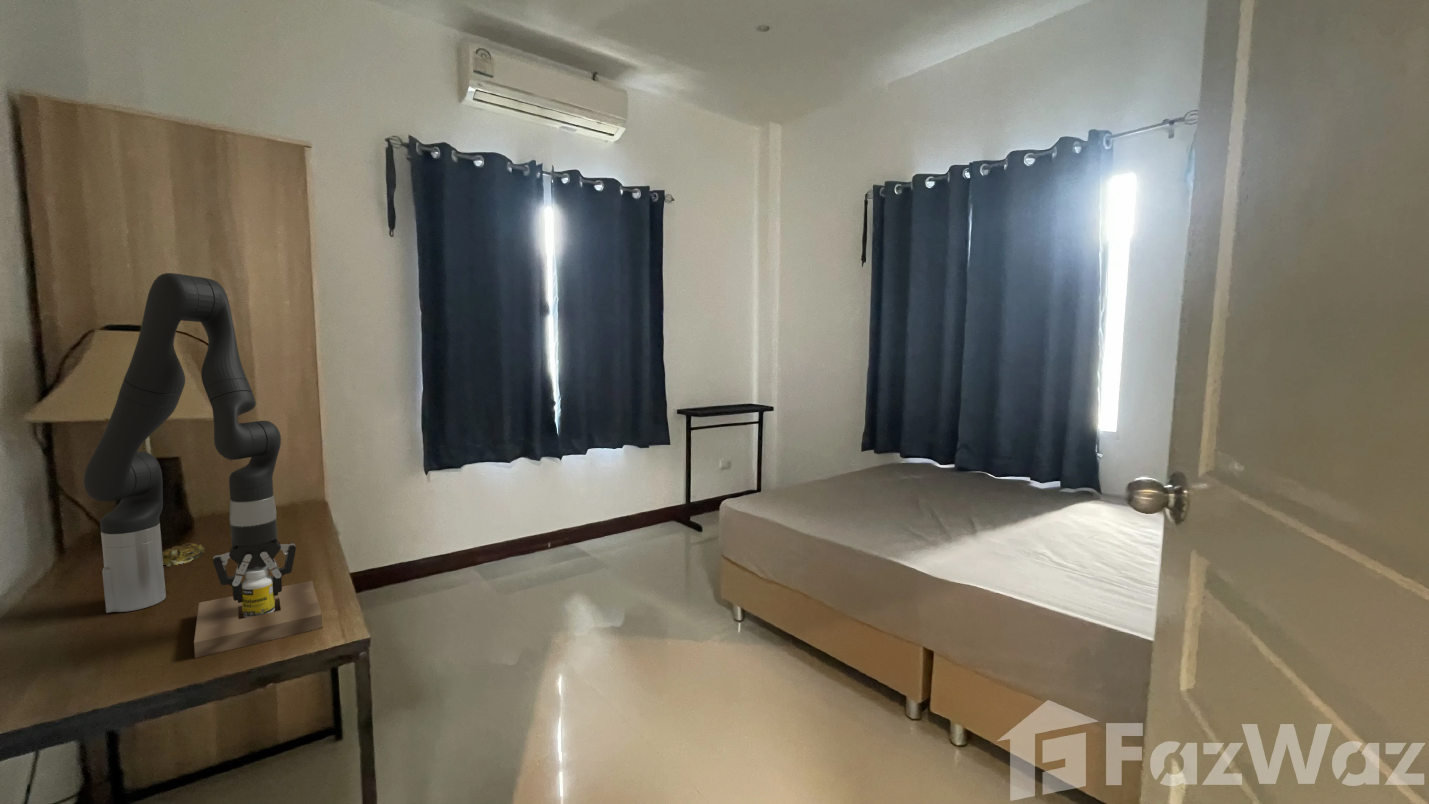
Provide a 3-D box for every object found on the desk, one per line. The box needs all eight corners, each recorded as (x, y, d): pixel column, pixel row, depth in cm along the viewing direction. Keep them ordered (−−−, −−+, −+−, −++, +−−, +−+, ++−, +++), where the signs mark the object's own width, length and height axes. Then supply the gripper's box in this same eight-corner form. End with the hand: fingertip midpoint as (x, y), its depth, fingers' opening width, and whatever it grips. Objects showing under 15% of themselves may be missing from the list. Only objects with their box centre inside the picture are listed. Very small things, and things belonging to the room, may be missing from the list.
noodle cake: (165, 554, 164) (151, 573, 151) (161, 538, 163) (147, 556, 150) (209, 545, 169) (199, 563, 156) (205, 529, 168) (195, 545, 155)
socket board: (195, 658, 113) (193, 642, 113) (200, 616, 128) (198, 602, 128) (322, 627, 125) (321, 614, 125) (312, 593, 141) (312, 580, 140)
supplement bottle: (238, 621, 123) (235, 574, 122) (249, 609, 128) (246, 564, 127) (269, 617, 125) (266, 572, 124) (279, 606, 130) (276, 562, 129)
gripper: (207, 530, 117) (213, 613, 119) (297, 517, 126) (301, 595, 128) (208, 519, 123) (214, 599, 125) (294, 508, 131) (298, 583, 134)
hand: (258, 597), depth 126 cm, fingers closed on supplement bottle, 5 cm apart
